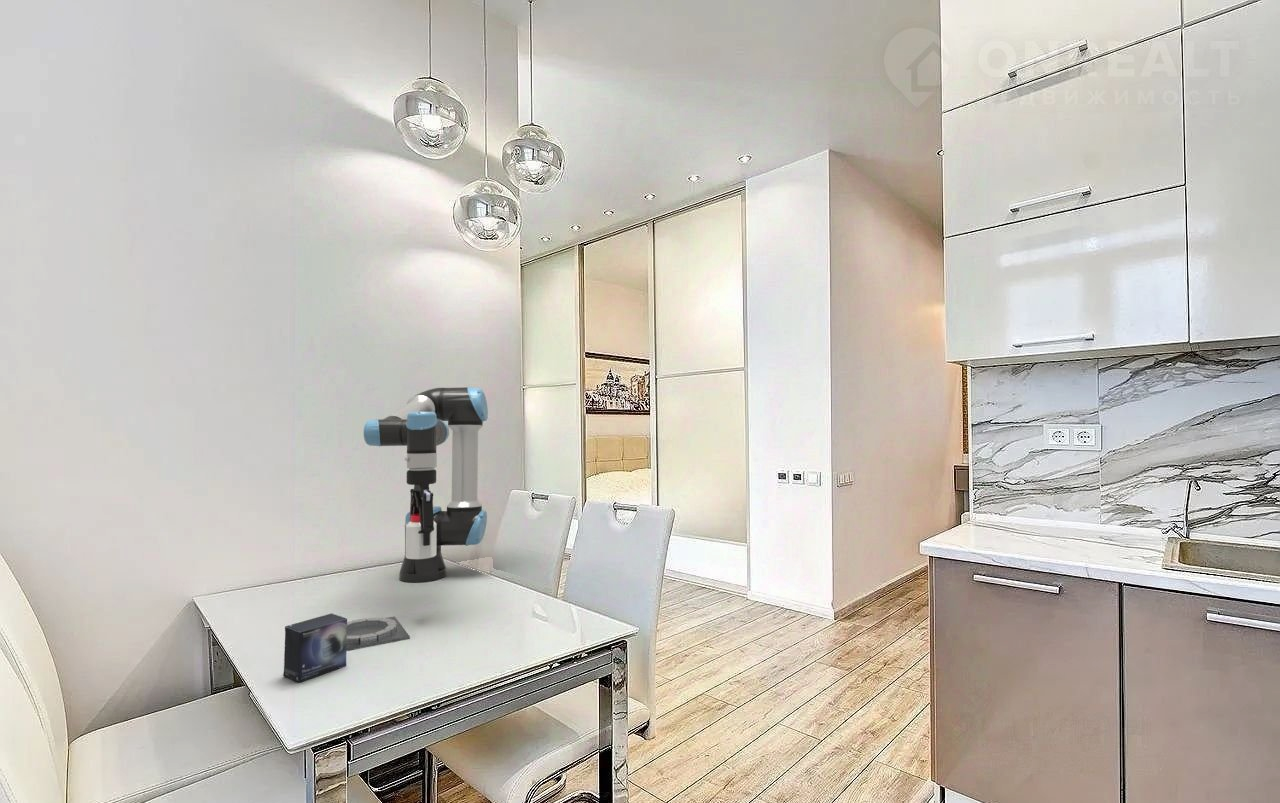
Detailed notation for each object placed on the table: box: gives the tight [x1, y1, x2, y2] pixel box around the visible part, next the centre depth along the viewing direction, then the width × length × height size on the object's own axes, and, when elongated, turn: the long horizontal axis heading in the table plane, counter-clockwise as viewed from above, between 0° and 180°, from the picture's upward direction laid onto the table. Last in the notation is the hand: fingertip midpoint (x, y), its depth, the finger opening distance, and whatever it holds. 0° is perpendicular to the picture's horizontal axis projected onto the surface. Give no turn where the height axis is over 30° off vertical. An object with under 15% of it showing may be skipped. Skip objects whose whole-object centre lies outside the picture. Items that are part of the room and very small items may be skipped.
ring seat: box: [346, 615, 411, 652], centre depth 151 cm, size 18×18×2 cm
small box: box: [282, 613, 348, 683], centre depth 129 cm, size 11×6×10 cm, turn 148°
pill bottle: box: [406, 513, 437, 559], centre depth 162 cm, size 8×8×11 cm
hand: (421, 554), depth 161 cm, fingers closed on pill bottle, 8 cm apart
